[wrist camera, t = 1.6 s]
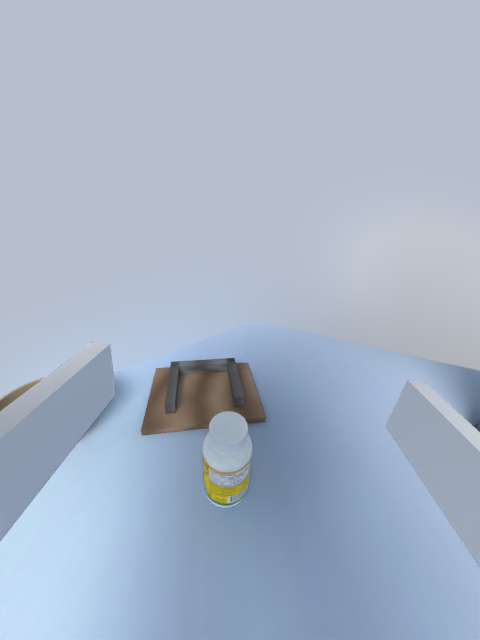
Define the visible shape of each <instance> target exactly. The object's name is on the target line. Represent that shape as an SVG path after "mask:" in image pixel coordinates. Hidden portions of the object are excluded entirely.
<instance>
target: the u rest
mask: <svg viewBox="0 0 480 640" xmlns="http://www.w3.org/2000/svg"><path fill="white" fill-rule="evenodd" d="M225 411H231V412H236V413H238V414H240V415H241V416H243V417H244V418H245V420H246V422H247V424H248V423H257V422H265V418H266V417H265V414H264V411H263V408H262V405H261V402H260V399H259V396H258V393H257V390H256V387H255V384H254V381H253V378H252V375H251V372H250V369H249V366H248V363H235V359H234V358H230V359H213V360H196V361H179V362H171V366H170V368H156V372H155V376H154V380H153V384H152V388H151V392H150V396H149V400H148V404H147V408H146V412H145V417H144V421H143V425H142V429H141V432H142V435H149V434H158V433H167V432H176V431H185V430H194V429H203V428H209V424H210V421H211V420H212V418H213V417H214V416H215V415H217V414H219V413H221V412H225Z"/></svg>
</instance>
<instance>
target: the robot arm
mask: <svg viewBox="0 0 480 640" xmlns="http://www.w3.org/2000/svg"><path fill="white" fill-rule="evenodd" d="M115 395H116V391H115V382H114V373H113V365H112V356H111V348H110V344H106V343H99V342H91V343H90V344H89V345H88V346H86V347H85V348H83V349H82V350H81V351H80V352H78V353H77V354H76V355H74V356H73V357H72V358H70V359H69V360H68V361H66V362H65V363H64V364H62V365H61V366H60V367H58V368H57V369H56V370H54V371H53V372H52V373H50V374H49V375H48V376H46V377H45V378H44V379H42V380H41V381H40V382H38V383H37V384H36V385H34V386H33V387H32V388H30V389H29V390H28V391H26V392H25V393H24V394H22V395H21V396H20V397H18V398H17V399H16V400H14V401H13V402H12V403H10V404H9V405H8V406H7V407H5V408H4V409H3V410H1V411H0V541H1V540H2V539H3V537H4V536H5V535H6V534H7V532H8V531H9V530H10V529H11V527H12V526H13V525H14V523H15V522H16V521H17V520H18V518H19V517H20V516H21V515H22V513H23V512H24V511H25V509H26V508H27V507H28V506H29V504H30V503H31V502H32V500H33V499H34V498H35V497H36V495H37V494H38V493H39V492H40V490H41V489H42V488H43V486H44V485H45V484H46V483H47V481H48V480H49V479H50V478H51V476H52V475H53V474H54V472H55V471H56V470H57V469H58V467H59V466H60V465H61V463H62V462H63V461H64V460H65V458H66V457H67V456H68V455H69V453H70V452H71V451H72V449H73V448H74V447H75V446H76V444H77V443H78V442H79V440H80V439H81V438H82V437H83V435H84V434H85V433H86V432H87V430H88V429H89V428H90V426H91V425H92V424H93V423H94V421H95V420H96V419H97V418H98V416H99V415H100V414H101V412H102V411H103V410H104V409H105V407H106V406H107V405H108V403H109V402H110V401H111V400H112V398H113V397H114V396H115ZM385 427H386V428H387V430H388V431H389V433H390V434H391V436H392V437H393V439H394V440H395V442H396V443H397V445H398V446H399V448H400V449H401V451H402V452H403V454H404V455H405V457H406V458H407V460H408V461H409V463H410V464H411V466H412V467H413V469H414V470H415V472H416V473H417V475H418V476H419V478H420V479H421V481H422V482H423V484H424V485H425V487H426V488H427V490H428V491H429V493H430V494H431V496H432V497H433V499H434V500H435V502H436V503H437V505H438V506H439V508H440V509H441V511H442V512H443V514H444V515H445V517H446V518H447V520H448V521H449V523H450V524H451V526H452V527H453V529H454V530H455V532H456V533H457V535H458V536H459V538H460V539H461V541H462V542H463V544H464V545H465V547H466V548H467V550H468V551H469V553H470V554H471V556H472V557H473V559H474V560H475V562H476V563H477V565H478V566H479V568H480V421H479V423H478V424H477V426H476V428H475V427H474V426H472V425H471V424H470V423H469V422H468V421H467V420H466V419H465V418H464V417H463V416H461V415H460V414H459V413H458V412H457V411H456V410H455V409H454V408H453V407H452V406H450V405H449V404H448V403H447V402H446V401H445V400H444V399H443V398H442V397H440V396H439V395H438V394H437V393H436V392H435V391H434V390H433V389H432V388H431V387H429V386H428V385H427V384H426V383H425V382H418V381H410V380H408V381H407V383H406V385H405V387H404V389H403V391H402V393H401V395H400V397H399V399H398V401H397V403H396V405H395V407H394V409H393V411H392V413H391V415H390V417H389V419H388V421H387V423H386V425H385Z"/></svg>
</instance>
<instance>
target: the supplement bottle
mask: <svg viewBox="0 0 480 640" xmlns="http://www.w3.org/2000/svg"><path fill="white" fill-rule="evenodd" d="M252 450H253V446H252V440H251V438H250V436H249V434H248V424H247V422H246V420H245V418H244V417H243V416H241V415H240V414H238V413H236V412H231V411H225V412H221V413H219V414H217V415H215V416H214V417H213V418H212V420H211V421H210V424H209V432H208V433H207V435H206V436H205V439H204V441H203V483H204V490H205V493H206V496H207V498H208V499H209V501H210V502H211V503H212V504H214V505H216V506H218V507H221V508H230V507H233V506H236V505H237V504H239V503H240V502H241V501H242V500H243V499H244V497H245V495H246V493H247V491H248V486H249V477H250V467H251V459H252Z"/></svg>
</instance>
